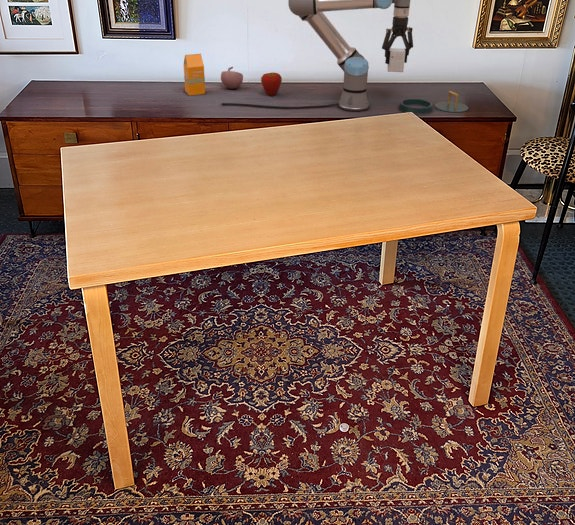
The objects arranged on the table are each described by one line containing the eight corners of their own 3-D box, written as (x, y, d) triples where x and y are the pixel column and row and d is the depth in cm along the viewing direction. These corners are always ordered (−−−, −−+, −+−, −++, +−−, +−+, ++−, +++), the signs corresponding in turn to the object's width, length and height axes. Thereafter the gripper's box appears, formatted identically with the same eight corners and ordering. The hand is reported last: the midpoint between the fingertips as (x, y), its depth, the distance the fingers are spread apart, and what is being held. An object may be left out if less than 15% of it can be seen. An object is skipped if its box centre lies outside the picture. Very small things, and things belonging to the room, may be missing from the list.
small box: (402, 69, 327) (405, 48, 321) (403, 72, 322) (405, 51, 316) (387, 68, 327) (389, 47, 322) (387, 71, 323) (389, 50, 317)
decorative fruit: (244, 85, 351) (244, 64, 345) (241, 92, 341) (240, 70, 335) (223, 84, 352) (222, 63, 346) (219, 91, 342) (218, 69, 336)
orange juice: (205, 93, 337) (203, 55, 327) (189, 95, 334) (187, 56, 324) (200, 89, 343) (198, 51, 333) (185, 91, 340) (182, 53, 330)
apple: (269, 90, 344) (269, 68, 338) (285, 94, 339) (286, 71, 333) (257, 95, 336) (256, 72, 330) (273, 99, 331) (273, 75, 325)
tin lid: (446, 115, 313) (449, 98, 309) (428, 105, 326) (430, 89, 322) (474, 111, 319) (477, 95, 315) (455, 102, 332) (457, 86, 328)
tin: (410, 115, 312) (411, 109, 310) (394, 106, 324) (394, 100, 322) (437, 112, 317) (438, 106, 315) (420, 103, 329) (421, 97, 328)
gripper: (384, 19, 304) (380, 66, 316) (424, 16, 312) (418, 63, 323) (377, 16, 310) (373, 62, 322) (416, 13, 317) (410, 59, 329)
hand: (395, 62), depth 323 cm, fingers closed on small box, 9 cm apart
